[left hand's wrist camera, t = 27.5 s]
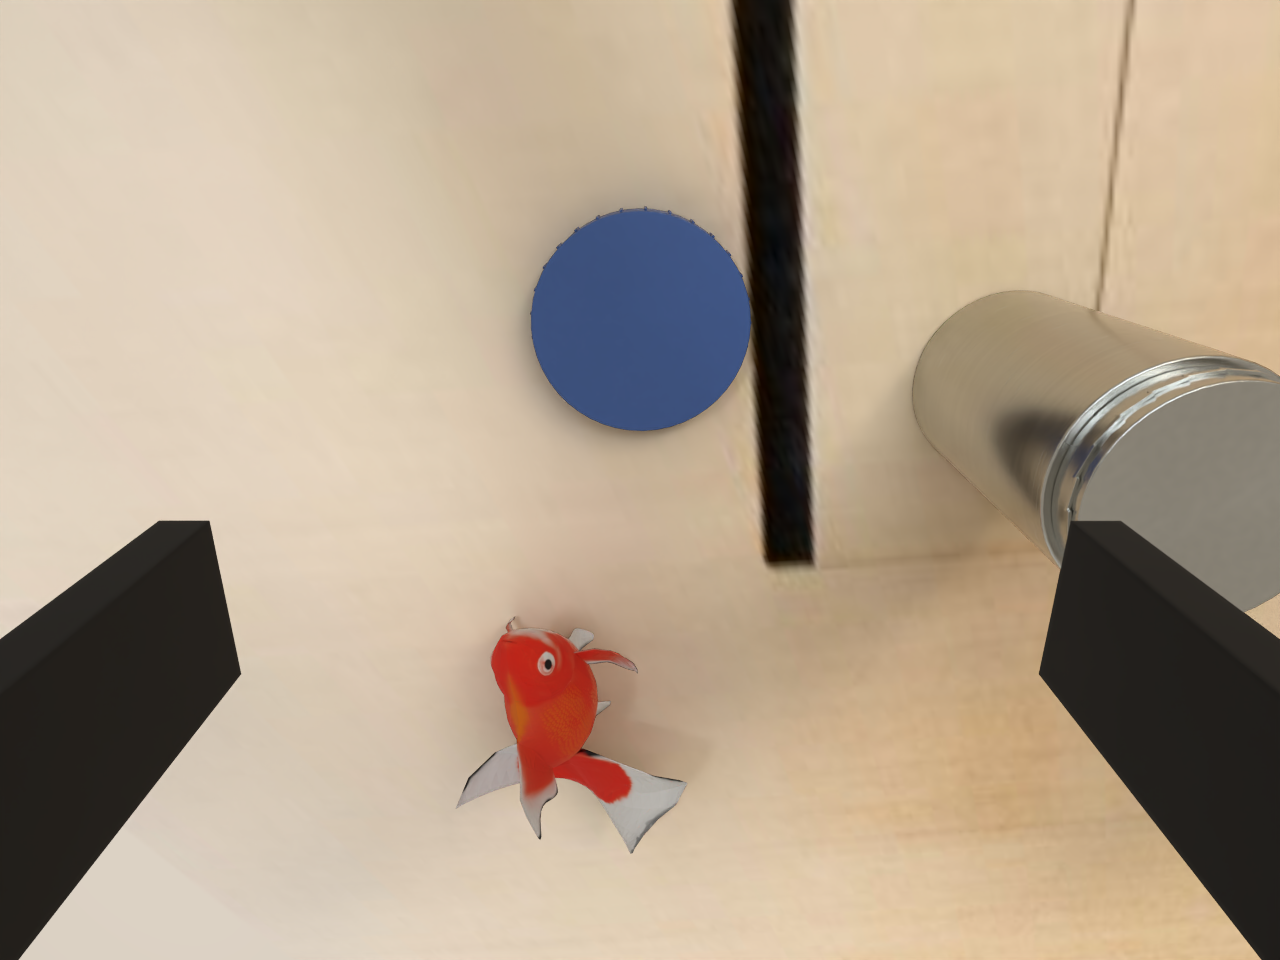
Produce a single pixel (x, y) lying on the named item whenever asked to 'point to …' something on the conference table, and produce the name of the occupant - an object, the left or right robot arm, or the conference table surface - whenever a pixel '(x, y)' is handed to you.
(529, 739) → the fish
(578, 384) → the lid
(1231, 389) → the jar
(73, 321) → the conference table surface
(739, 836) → the conference table surface
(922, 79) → the conference table surface
